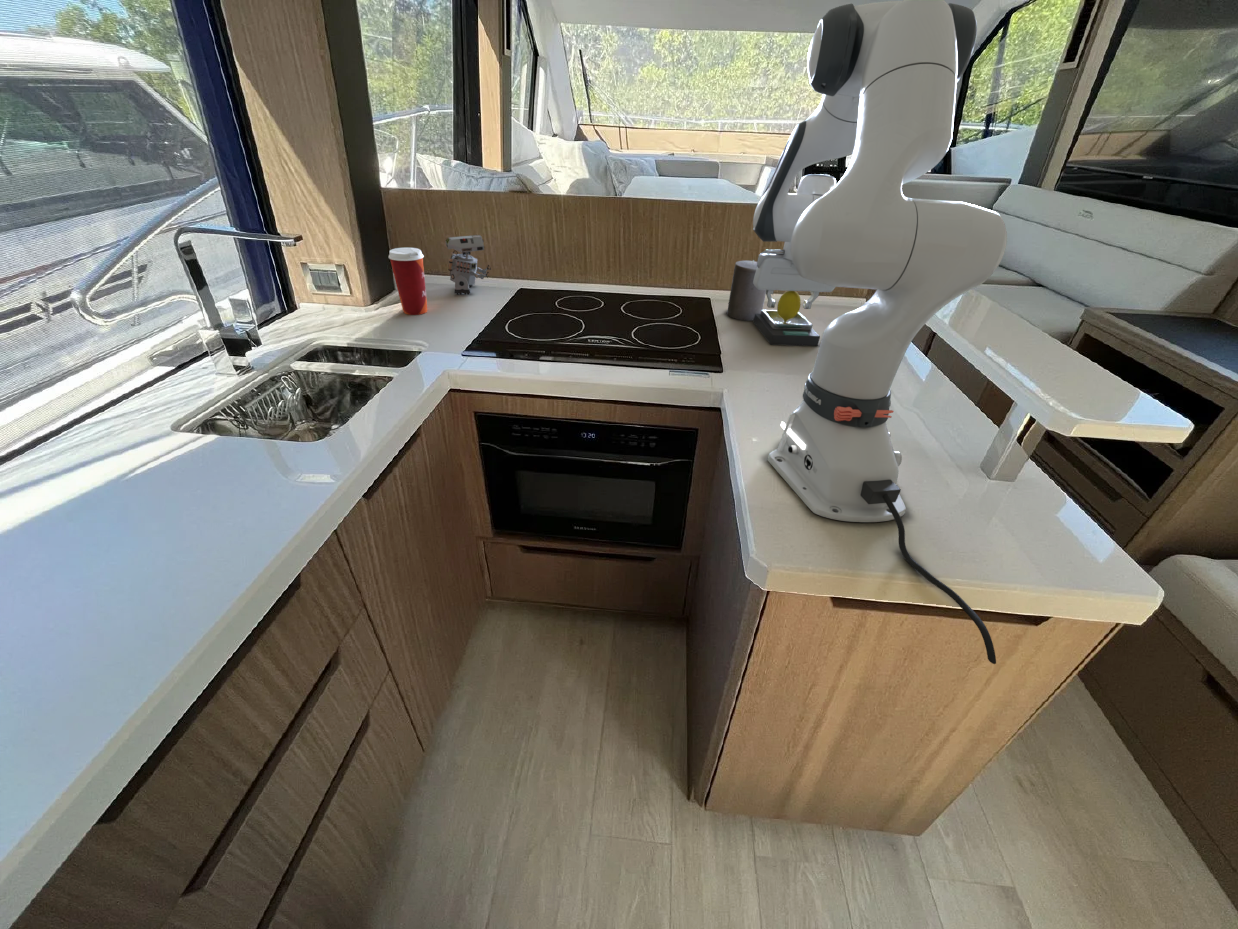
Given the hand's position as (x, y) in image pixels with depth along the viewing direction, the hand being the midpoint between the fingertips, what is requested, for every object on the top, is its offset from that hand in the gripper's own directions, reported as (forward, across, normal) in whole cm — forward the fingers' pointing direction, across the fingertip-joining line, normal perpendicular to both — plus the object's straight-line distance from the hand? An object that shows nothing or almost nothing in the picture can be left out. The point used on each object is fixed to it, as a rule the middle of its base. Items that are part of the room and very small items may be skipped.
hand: (788, 307), depth 134 cm
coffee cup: (+7, -96, +8) cm, 97 cm away
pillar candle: (+7, -7, +13) cm, 16 cm away
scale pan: (+4, 0, 0) cm, 4 cm away
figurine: (+7, -85, +28) cm, 90 cm away
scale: (+6, 0, -1) cm, 7 cm away
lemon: (+4, 0, 0) cm, 4 cm away
